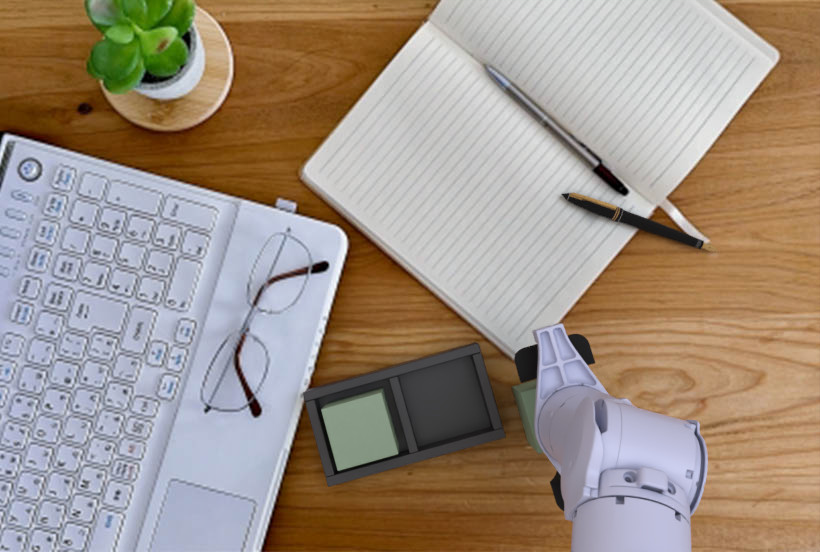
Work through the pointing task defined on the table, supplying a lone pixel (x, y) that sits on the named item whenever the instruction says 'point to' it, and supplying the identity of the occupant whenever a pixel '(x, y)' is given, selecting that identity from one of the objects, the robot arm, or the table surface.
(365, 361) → the table surface
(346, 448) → the two-compartment tray
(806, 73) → the table surface
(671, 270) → the table surface
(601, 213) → the fountain pen
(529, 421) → the green block
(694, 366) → the table surface
